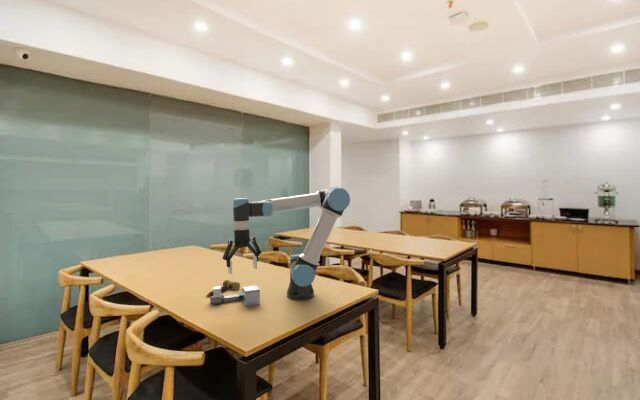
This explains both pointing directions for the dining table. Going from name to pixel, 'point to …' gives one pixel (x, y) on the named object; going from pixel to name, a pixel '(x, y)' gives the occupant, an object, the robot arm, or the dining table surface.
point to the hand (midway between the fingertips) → (243, 270)
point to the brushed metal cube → (251, 295)
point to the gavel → (227, 286)
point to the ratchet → (223, 297)
